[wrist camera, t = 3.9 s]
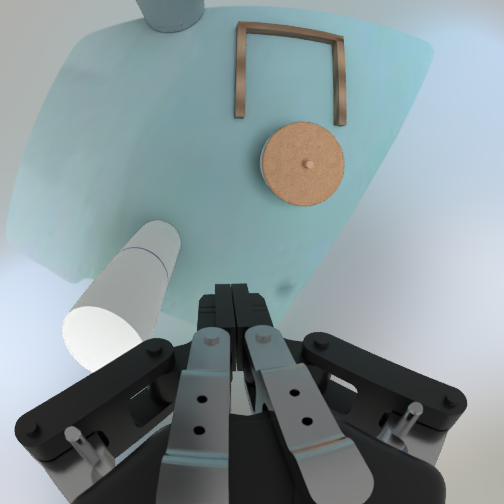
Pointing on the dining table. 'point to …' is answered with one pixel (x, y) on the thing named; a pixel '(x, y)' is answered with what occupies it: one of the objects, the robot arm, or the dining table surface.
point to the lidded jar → (302, 163)
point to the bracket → (294, 32)
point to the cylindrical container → (123, 298)
